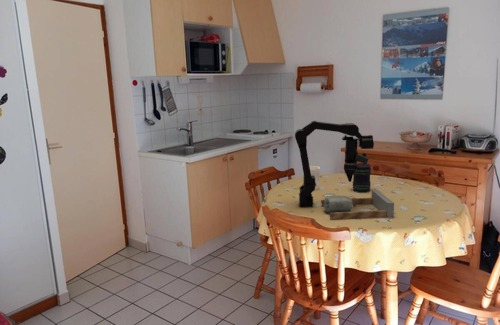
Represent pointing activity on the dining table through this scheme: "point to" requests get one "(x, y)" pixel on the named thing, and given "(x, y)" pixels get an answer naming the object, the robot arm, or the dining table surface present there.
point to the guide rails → (358, 213)
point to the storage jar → (362, 178)
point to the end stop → (383, 203)
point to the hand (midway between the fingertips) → (350, 179)
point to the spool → (338, 204)
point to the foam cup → (315, 174)
